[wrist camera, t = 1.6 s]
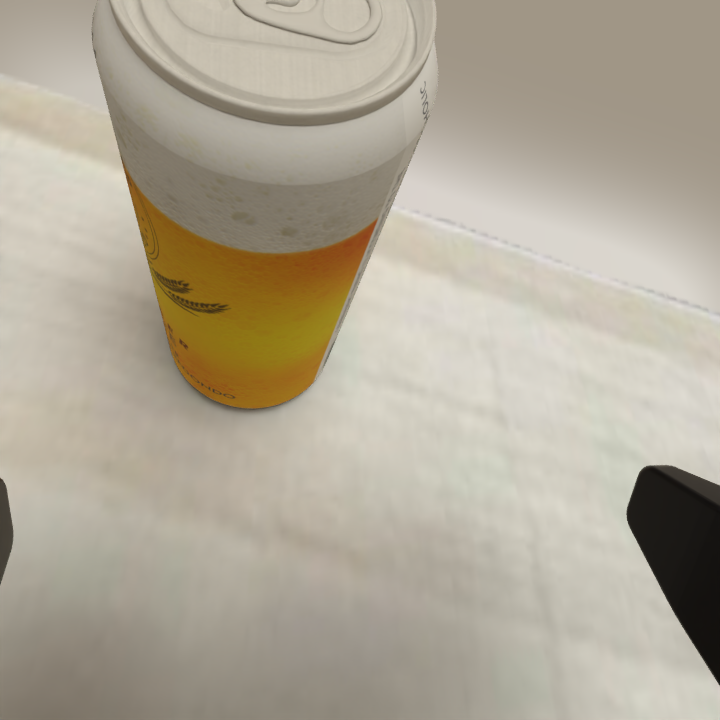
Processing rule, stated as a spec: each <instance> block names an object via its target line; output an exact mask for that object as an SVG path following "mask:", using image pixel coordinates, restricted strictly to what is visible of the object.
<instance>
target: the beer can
mask: <svg viewBox="0 0 720 720" xmlns="http://www.w3.org/2000/svg"><path fill="white" fill-rule="evenodd" d="M435 31H436V5H435V0H97V3H96V6H95V10H94V13H93V22H92V43H93V50H94V54H95V58H96V63H97V67H98V70H99V74H100V78H101V82H102V86H103V90H104V94H105V98H106V101H107V105H108V109H109V113H110V117H111V121H112V125H113V128H114V132H115V136H116V140H117V144H118V148H119V152H120V156H121V159H122V163H123V167H124V171H125V175H126V179H127V183H128V187H129V190H130V194H131V198H132V202H133V206H134V210H135V214H136V218H137V221H138V225H139V229H140V233H141V237H142V241H143V245H144V248H145V252H146V256H147V260H148V264H149V268H150V272H151V276H152V279H153V283H154V287H155V291H156V295H157V299H158V303H159V307H160V310H161V314H162V318H163V322H164V326H165V330H166V334H167V338H168V341H169V345H170V349H171V353H172V356H173V358H174V361H175V363H176V365H177V367H178V369H179V370H180V372H181V373H182V375H183V376H184V377H185V378H186V380H187V381H188V382H189V383H190V384H191V385H192V386H193V387H194V388H196V389H197V390H198V391H199V392H201V393H202V394H204V395H205V396H207V397H209V398H211V399H213V400H215V401H217V402H220V403H222V404H225V405H229V406H233V407H239V408H252V409H254V408H265V407H270V406H275V405H278V404H281V403H284V402H286V401H288V400H291V399H292V398H294V397H296V396H298V395H299V394H301V393H302V392H303V391H305V390H306V389H307V388H308V387H309V386H310V385H311V384H312V383H313V382H314V381H315V380H316V379H317V377H318V376H319V375H320V373H321V371H322V370H323V368H324V366H325V364H326V362H327V359H328V357H329V354H330V352H331V350H332V347H333V345H334V343H335V340H336V338H337V335H338V333H339V331H340V328H341V326H342V323H343V321H344V319H345V316H346V314H347V311H348V309H349V307H350V304H351V302H352V300H353V297H354V295H355V292H356V290H357V288H358V285H359V283H360V280H361V278H362V276H363V273H364V271H365V269H366V266H367V264H368V261H369V259H370V257H371V254H372V252H373V249H374V247H375V245H376V242H377V240H378V237H379V235H380V233H381V230H382V228H383V226H384V223H385V221H386V218H387V216H388V214H389V211H390V209H391V206H392V204H393V202H394V199H395V197H396V194H397V192H398V189H399V187H400V185H401V183H402V180H403V178H404V175H405V173H406V171H407V168H408V166H409V163H410V161H411V158H412V156H413V154H414V151H415V149H416V147H417V144H418V142H419V140H420V137H421V135H422V132H423V130H424V128H425V125H426V123H427V120H428V118H429V116H430V113H431V111H432V108H433V105H434V102H435V98H436V94H437V87H438V63H437V57H436V50H435V42H434V38H435Z"/></svg>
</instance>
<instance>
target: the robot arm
mask: <svg viewBox="0 0 720 720" xmlns="http://www.w3.org/2000/svg"><path fill="white" fill-rule="evenodd" d="M627 521H628V524H629V527H630V529H631V531H632V533H633V535H634V537H635V538H636V540H637V542H638V544H639V546H640V548H641V550H642V552H643V554H644V556H645V558H646V560H647V562H648V564H649V566H650V568H651V570H652V572H653V573H654V575H655V577H656V579H657V581H658V583H659V585H660V587H661V589H662V591H663V593H664V595H665V597H666V599H667V601H668V602H669V604H670V606H671V608H672V610H673V612H674V613H675V615H676V617H677V618H678V620H679V622H680V623H681V625H682V627H683V628H684V630H685V632H686V633H687V635H688V636H689V638H690V639H691V641H692V643H693V644H694V646H695V647H696V649H697V651H698V652H699V654H700V655H701V657H702V658H703V660H704V662H705V663H706V665H707V666H708V668H709V670H710V671H711V673H712V674H713V676H714V677H715V679H716V681H717V682H718V684H719V685H720V485H717V484H715V483H712V482H710V481H707V480H705V479H703V478H700V477H698V476H695V475H693V474H691V473H688V472H686V471H683V470H681V469H678V468H676V467H673V466H669V465H654V466H646V467H644V468H643V469H642V470H641V471H640V472H639V475H638V477H637V480H636V483H635V486H634V489H633V492H632V495H631V498H630V501H629V504H628V507H627ZM12 544H13V526H12V519H11V513H10V507H9V500H8V494H7V488H6V485H5V483H4V481H3V480H2V479H1V478H0V584H1V581H2V578H3V575H4V571H5V568H6V565H7V562H8V559H9V555H10V552H11V549H12Z"/></svg>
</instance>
